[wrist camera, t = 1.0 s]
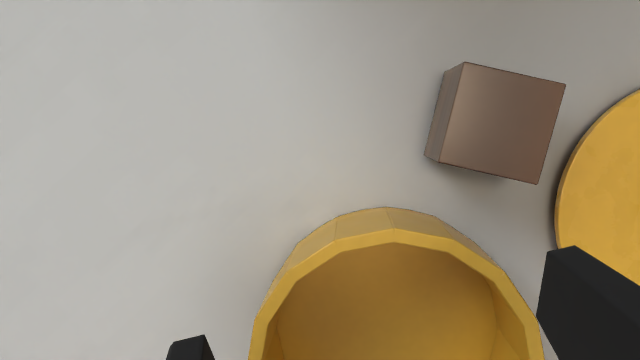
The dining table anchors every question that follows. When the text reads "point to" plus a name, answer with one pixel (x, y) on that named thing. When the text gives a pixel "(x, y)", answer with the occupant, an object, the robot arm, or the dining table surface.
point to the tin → (392, 296)
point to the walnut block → (494, 121)
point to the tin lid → (605, 191)
